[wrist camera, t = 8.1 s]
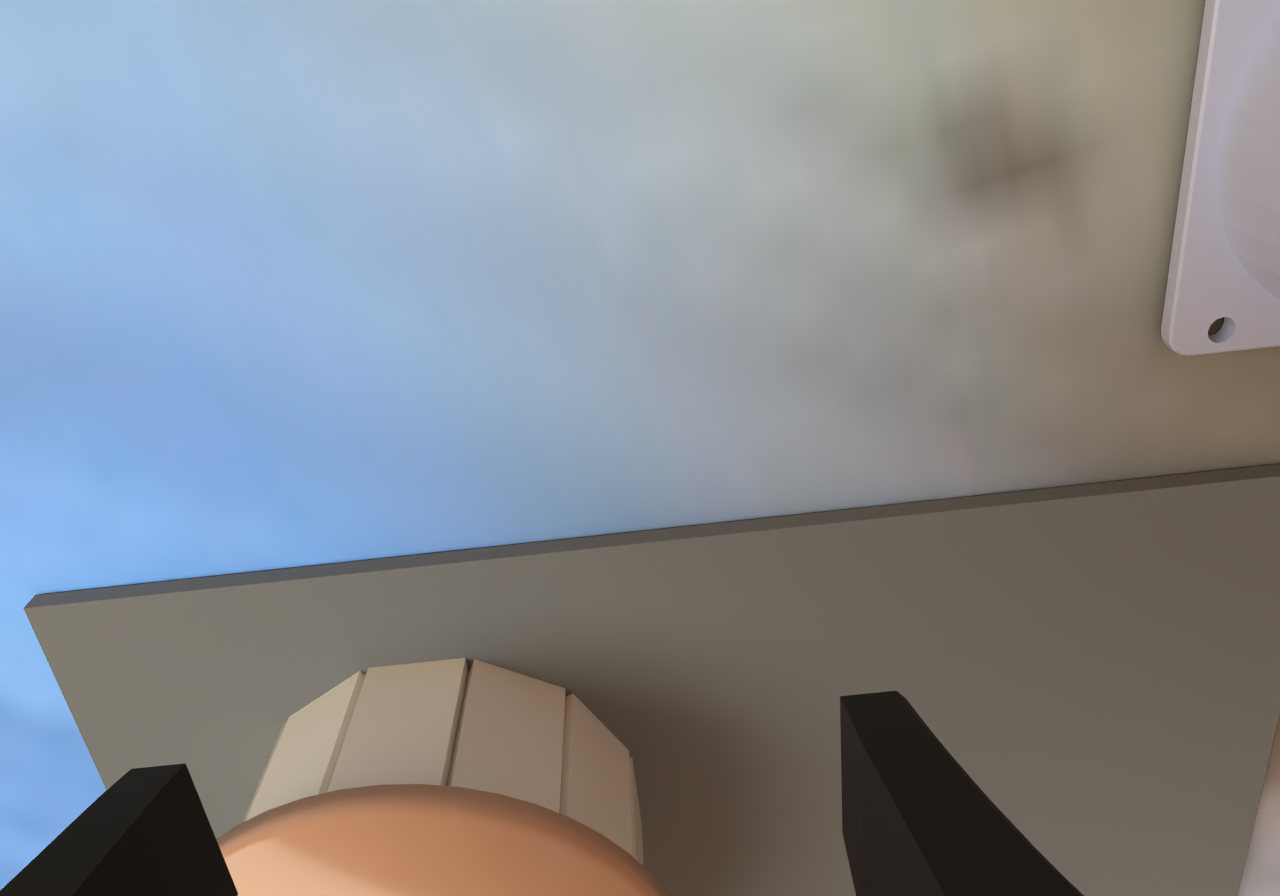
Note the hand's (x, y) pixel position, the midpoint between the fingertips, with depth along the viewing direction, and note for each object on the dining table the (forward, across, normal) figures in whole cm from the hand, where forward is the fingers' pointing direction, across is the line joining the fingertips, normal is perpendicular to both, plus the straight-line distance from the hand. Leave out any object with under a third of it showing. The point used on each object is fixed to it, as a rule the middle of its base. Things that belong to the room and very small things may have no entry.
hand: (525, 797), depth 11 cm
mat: (+10, -2, +12) cm, 16 cm away
